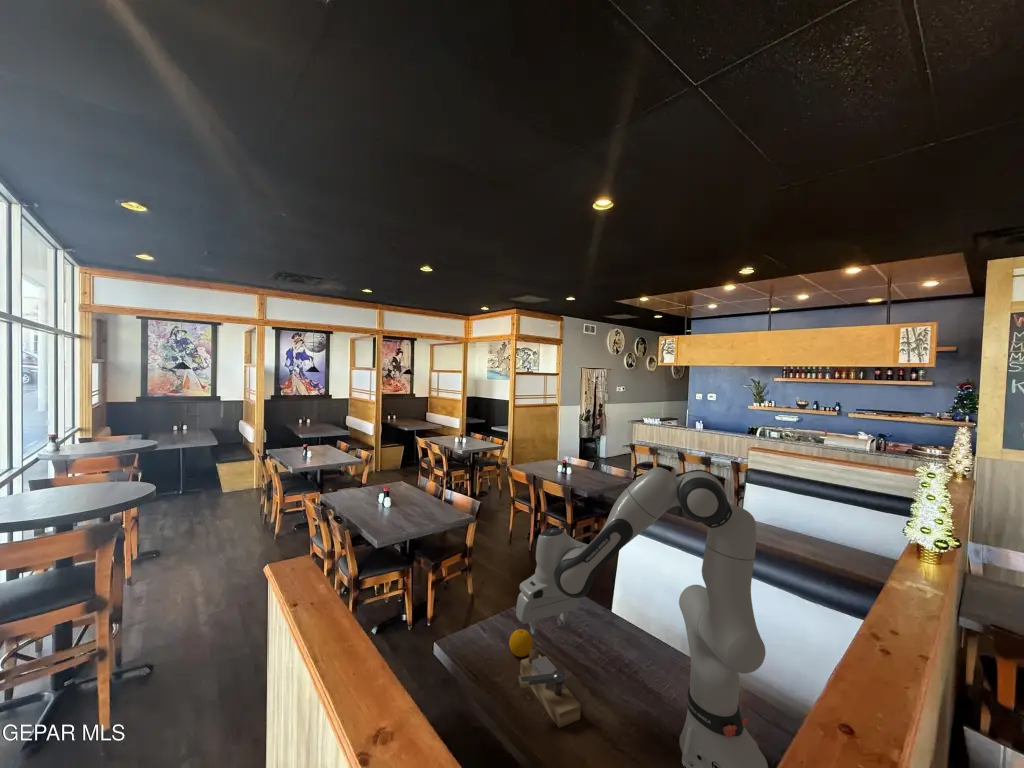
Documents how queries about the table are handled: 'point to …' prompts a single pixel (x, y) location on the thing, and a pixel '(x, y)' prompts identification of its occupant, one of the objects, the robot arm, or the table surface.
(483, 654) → the table surface
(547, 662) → the lever cap
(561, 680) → the lever
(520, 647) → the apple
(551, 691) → the plane body
